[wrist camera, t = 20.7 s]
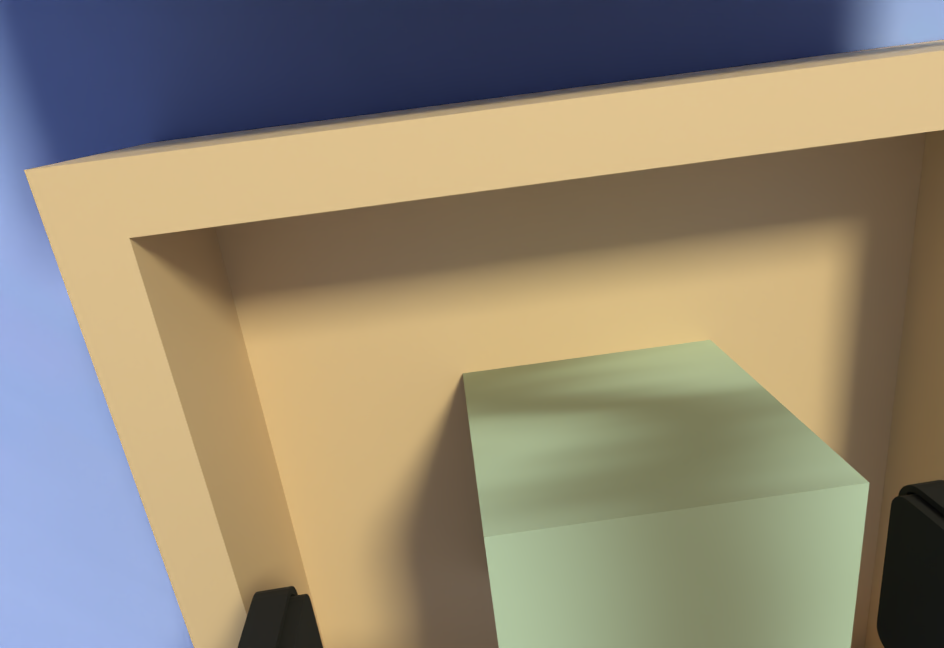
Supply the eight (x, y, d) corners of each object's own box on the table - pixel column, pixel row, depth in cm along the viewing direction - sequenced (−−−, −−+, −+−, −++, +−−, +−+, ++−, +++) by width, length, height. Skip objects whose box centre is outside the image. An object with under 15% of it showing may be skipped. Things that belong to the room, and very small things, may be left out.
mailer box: (318, 730, 17) (287, 912, 13) (150, 142, 12) (23, 169, 8) (878, 647, 17) (1003, 801, 14) (957, 37, 12) (1194, 17, 8)
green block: (489, 574, 15) (519, 802, 10) (462, 373, 13) (483, 537, 8) (707, 542, 15) (838, 754, 10) (710, 339, 13) (869, 482, 8)
